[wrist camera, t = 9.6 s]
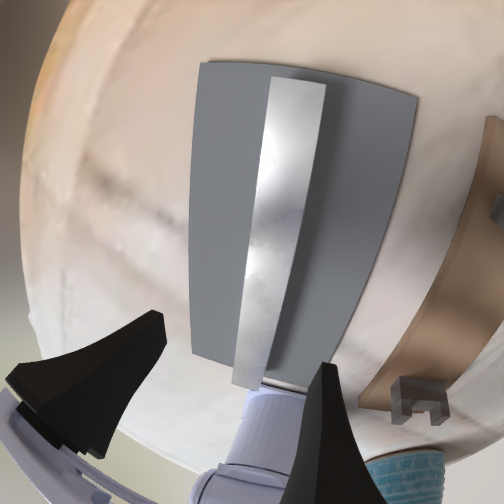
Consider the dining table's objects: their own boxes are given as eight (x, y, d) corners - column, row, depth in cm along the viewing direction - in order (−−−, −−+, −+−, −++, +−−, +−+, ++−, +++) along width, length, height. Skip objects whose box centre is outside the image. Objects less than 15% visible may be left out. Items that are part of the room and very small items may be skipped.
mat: (314, 383, 23) (313, 388, 22) (194, 349, 25) (192, 353, 24) (414, 98, 11) (417, 98, 10) (204, 64, 13) (200, 62, 12)
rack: (421, 404, 21) (424, 444, 17) (358, 397, 22) (355, 441, 18) (555, 166, 8) (597, 189, 3) (486, 116, 9) (536, 123, 5)
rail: (265, 370, 23) (258, 391, 21) (240, 363, 23) (231, 383, 21) (326, 90, 12) (325, 84, 10) (280, 83, 12) (271, 76, 10)
